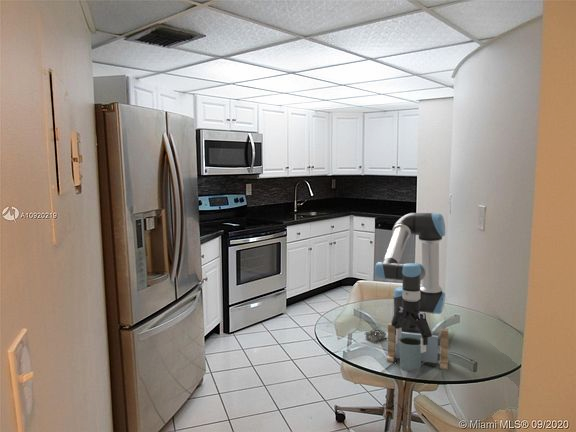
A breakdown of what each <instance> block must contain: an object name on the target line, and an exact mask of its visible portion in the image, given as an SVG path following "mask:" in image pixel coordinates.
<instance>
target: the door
mask: <svg viewBox="0 0 576 432" xmlns="http://www.w3.org/2000/svg"><path fill="white" fill-rule="evenodd" d="M424 335H425V334H424ZM402 337H414V338H418V339H420V340H421V337H422V335H421V333H417V332H412V333H408V332H402ZM439 346H441V337H439V336H438V335H434V334H432V336H431V337H428V344H427V345H426V352H423V353H421V354H422V356H421V362H426V363H434V364H438V363H439V362H440V359H441V353H439ZM395 359H400V348H399V343H396V356H395Z"/></svg>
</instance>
